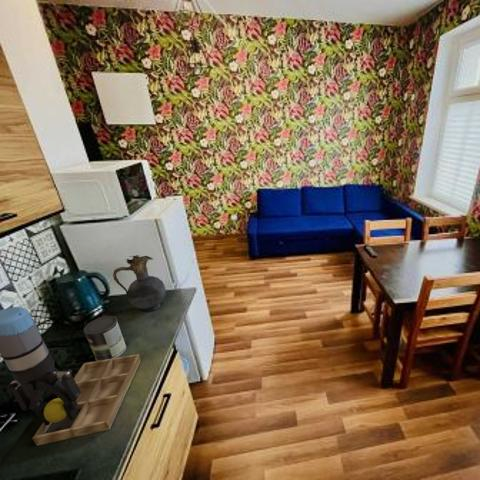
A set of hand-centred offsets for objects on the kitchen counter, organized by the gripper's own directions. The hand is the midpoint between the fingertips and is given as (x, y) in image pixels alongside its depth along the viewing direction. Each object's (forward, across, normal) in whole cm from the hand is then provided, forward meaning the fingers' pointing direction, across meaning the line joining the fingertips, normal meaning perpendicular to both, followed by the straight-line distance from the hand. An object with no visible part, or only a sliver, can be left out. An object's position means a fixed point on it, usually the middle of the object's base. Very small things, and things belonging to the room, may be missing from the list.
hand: (62, 418), depth 80 cm
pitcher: (+4, -5, -58) cm, 58 cm away
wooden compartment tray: (+3, -4, -9) cm, 10 cm away
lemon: (+1, 0, 0) cm, 1 cm away
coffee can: (+4, 0, -30) cm, 30 cm away
